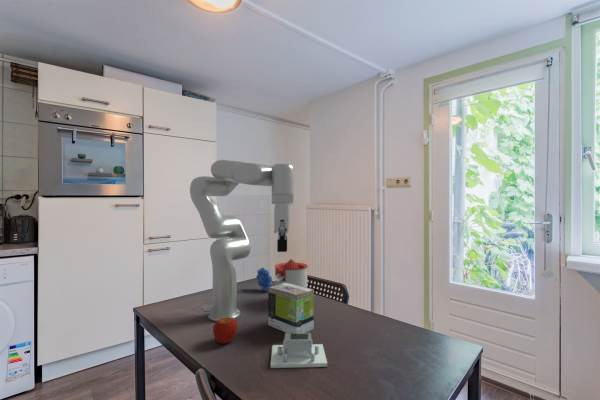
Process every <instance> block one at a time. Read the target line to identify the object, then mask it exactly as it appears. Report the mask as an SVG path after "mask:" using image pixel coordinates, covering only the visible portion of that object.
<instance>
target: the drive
mask: <svg viewBox="0 0 600 400" xmlns="http://www.w3.org/2000/svg"><path fill="white" fill-rule="evenodd" d="M283 340H284V353H286V354H287V358H311V353H312V344H313V338H312V333H311V332H306V333H286V332H284V338H283Z"/></svg>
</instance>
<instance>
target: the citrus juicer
mask: <svg viewBox="0 0 600 400" xmlns="http://www.w3.org/2000/svg"><path fill="white" fill-rule="evenodd" d="M308 267H309V266H308V264H306V263H304V262H296V261H295V260H293V259H292V258H291V259H289V260H288V261H287V262H281V263H277V264H275V265H274V272H275V273H274V275H275V276H274V286H275V285H279V284H283V283H290V284H294V285H298V286H302V287H306V288H308Z"/></svg>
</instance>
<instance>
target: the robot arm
mask: <svg viewBox="0 0 600 400" xmlns="http://www.w3.org/2000/svg"><path fill="white" fill-rule="evenodd" d="M210 173H211V175H212V176H204V175H203V176H198V177H195V178H193V179H192V180H191V182H190V186H189V195H190V198H191V201H192V203H193V204H194V207H195V208H196V210H197V212H198V214H199V216H200V219H201V222H202V224H203V228H204V230H205V232H206V235H207V236H208V238H210V239H216V240H215V241H213V242H212V243H211V245H210V247H209V254H210V260H211V267H212V299H211V301H212V304H210V305H202V307H201V311H203V313H207V312H208V319H209V320H210V321H213V322H216V321H218V320H219V319H221V318H225V317H229V318H233V319H235V320H236V319H238V318H239V317H240V316H241V310H240V309H238V308H237V269H236V267H235V265H234V264H233V261H237V260H242V259H245V258H247V257H248V256H249V255H250V254H251V250H252V245H251V242H250V240H249V237H248V235H247V232H246V230H245V228H244V225H243V223H242V222H241V220H240V218H238V217H237V216H235V215H224V214H223V213H222V212H221V210H220V207H219V206H218V204H217V203H216V201H214V199H212V198H211V197H227V196H228V195H230V194H231V193H232V192H233V191H234V190H235V189H236V188H237V186H238V185H239V184H244V185H249V186H259V187H260V186H261V187H262V186H263V187H271V204H272V205H274V209H273V210H274V212H273V213H274V214H273V233H274V234H277V233H278V234H277V240H276V241H277V243H276V244H277V245H276V246H277V251H276V252H278V253H287V252H288V235H287V234H288V233H289V231H290V219H291V216H290V215H291V210H290V209H291V205H294V167H293V165H291V164H290V163H275V164H274V165H267V164H262V163H253V162H245V161H237V160H229V159H228V160H227V159H226V160H225V159H219V160H216V161H214V162H213V163H212V165H211V166H210Z"/></svg>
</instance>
